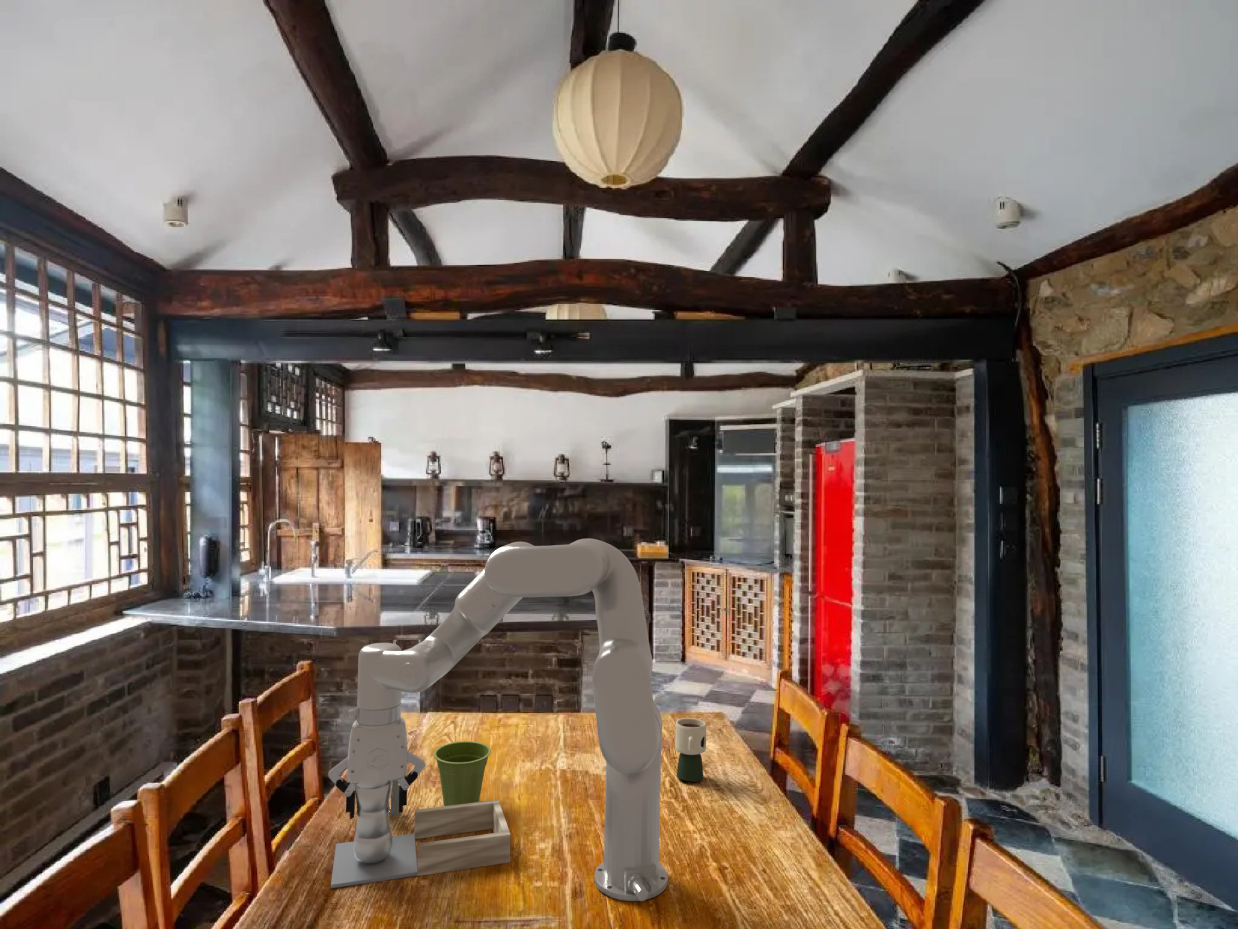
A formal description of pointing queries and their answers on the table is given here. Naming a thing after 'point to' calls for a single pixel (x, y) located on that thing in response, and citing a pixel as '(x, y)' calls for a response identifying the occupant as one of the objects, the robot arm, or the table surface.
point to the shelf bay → (462, 849)
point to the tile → (392, 867)
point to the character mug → (690, 748)
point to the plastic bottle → (372, 818)
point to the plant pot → (461, 771)
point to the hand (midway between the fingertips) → (376, 812)
